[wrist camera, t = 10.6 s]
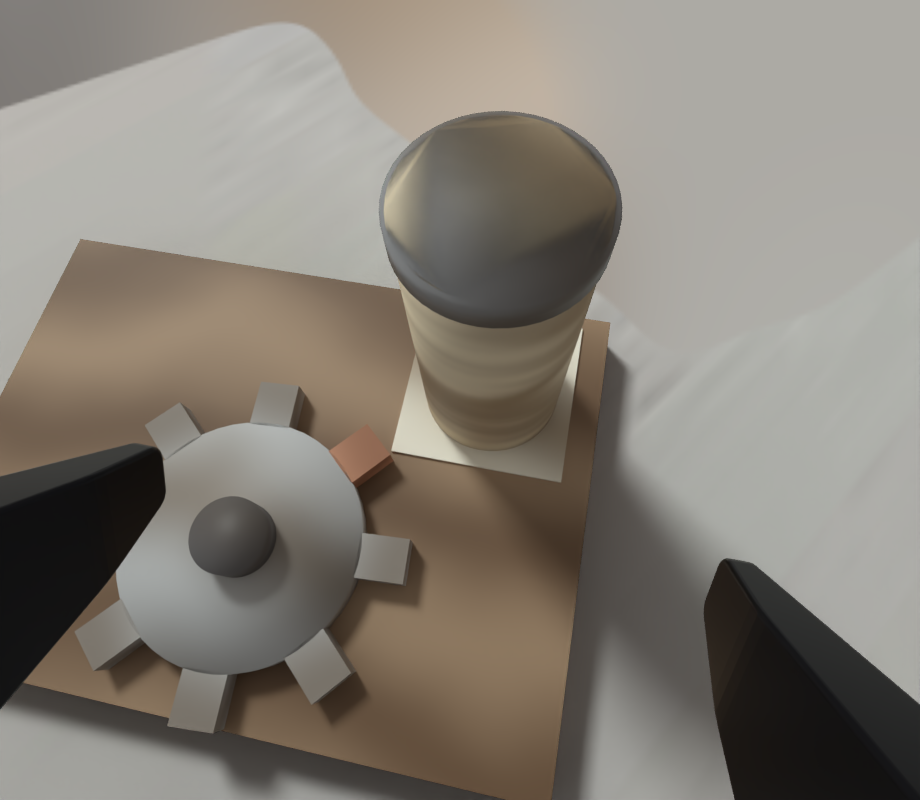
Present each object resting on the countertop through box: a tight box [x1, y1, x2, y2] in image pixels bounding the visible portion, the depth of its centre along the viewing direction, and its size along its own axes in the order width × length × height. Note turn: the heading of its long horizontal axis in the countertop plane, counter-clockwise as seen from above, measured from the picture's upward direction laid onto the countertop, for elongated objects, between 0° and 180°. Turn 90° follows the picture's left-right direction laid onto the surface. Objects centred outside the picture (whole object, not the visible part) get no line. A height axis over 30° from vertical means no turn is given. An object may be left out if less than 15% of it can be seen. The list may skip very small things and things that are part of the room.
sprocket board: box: [0, 239, 610, 800], centre depth 21 cm, size 16×22×3 cm
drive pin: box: [379, 111, 622, 451], centre depth 17 cm, size 5×5×10 cm
